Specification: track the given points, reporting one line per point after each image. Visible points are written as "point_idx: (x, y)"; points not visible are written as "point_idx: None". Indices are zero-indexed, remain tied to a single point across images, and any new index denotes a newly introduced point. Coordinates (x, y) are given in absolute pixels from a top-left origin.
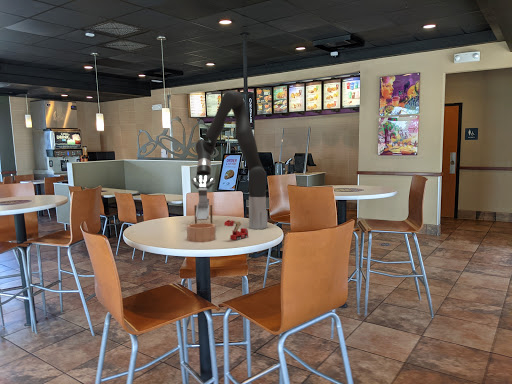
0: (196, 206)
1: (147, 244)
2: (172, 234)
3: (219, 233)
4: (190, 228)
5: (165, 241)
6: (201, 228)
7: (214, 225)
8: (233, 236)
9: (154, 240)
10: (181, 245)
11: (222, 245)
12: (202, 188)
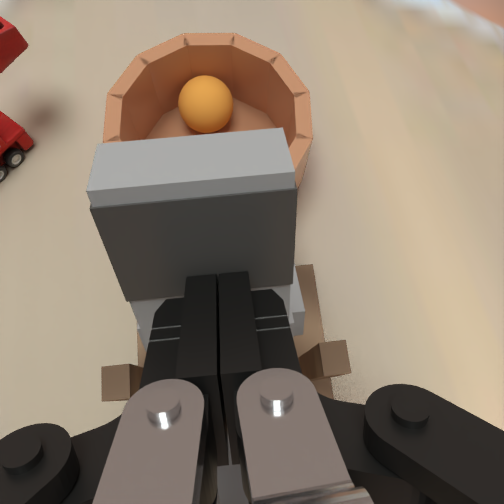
0: (318, 356)
1: (479, 43)
2: (446, 292)
3: (110, 335)
4: (272, 54)
5: (411, 103)
6: (193, 34)
7: (109, 121)
8: (5, 115)
9: (485, 124)
10: (295, 27)
11: (82, 30)
12: (195, 169)
